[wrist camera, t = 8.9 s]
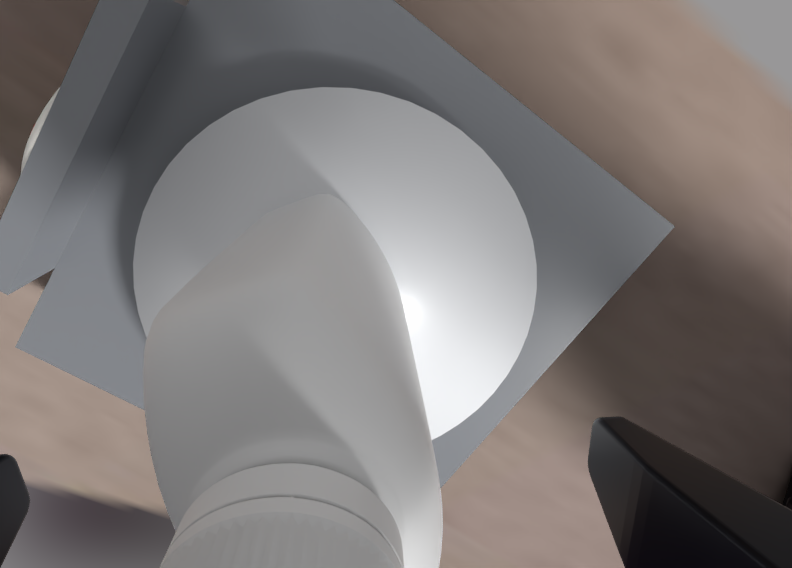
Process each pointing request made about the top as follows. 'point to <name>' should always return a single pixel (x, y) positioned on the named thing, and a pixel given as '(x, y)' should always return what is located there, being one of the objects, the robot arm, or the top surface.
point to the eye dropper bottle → (292, 405)
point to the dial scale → (313, 191)
